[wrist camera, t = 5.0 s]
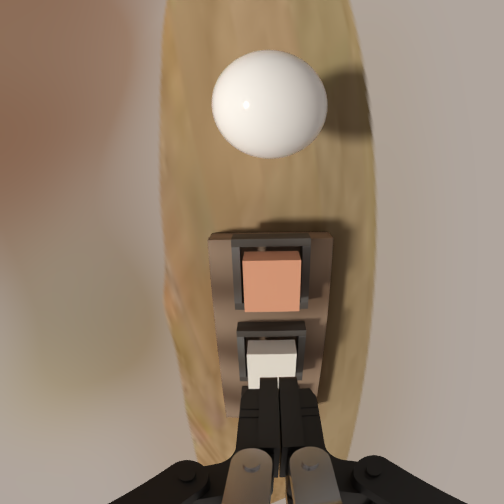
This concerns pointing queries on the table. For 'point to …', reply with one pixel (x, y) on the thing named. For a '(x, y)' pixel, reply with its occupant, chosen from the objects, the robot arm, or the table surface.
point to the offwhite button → (270, 360)
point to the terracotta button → (271, 281)
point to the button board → (268, 323)
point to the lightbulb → (269, 104)
